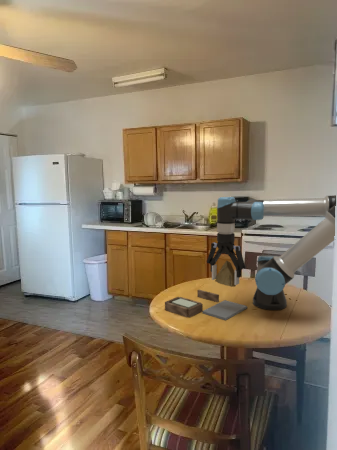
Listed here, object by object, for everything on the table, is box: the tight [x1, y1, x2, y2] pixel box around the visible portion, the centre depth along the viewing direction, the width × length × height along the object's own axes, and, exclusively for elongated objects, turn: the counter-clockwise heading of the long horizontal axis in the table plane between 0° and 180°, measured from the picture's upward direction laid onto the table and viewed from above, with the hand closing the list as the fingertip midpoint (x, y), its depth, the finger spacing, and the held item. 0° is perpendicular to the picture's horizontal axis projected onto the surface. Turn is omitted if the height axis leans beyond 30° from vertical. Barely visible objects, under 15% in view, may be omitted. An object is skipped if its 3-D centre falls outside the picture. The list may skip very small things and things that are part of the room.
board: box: [201, 299, 248, 321], centre depth 151 cm, size 12×18×1 cm, turn 138°
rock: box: [214, 260, 237, 288], centre depth 149 cm, size 11×9×10 cm
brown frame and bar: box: [164, 289, 220, 318], centre depth 157 cm, size 14×25×4 cm, turn 138°
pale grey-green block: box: [172, 298, 197, 309], centre depth 152 cm, size 10×6×4 cm, turn 46°
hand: (225, 281), depth 149 cm, fingers closed on rock, 11 cm apart
